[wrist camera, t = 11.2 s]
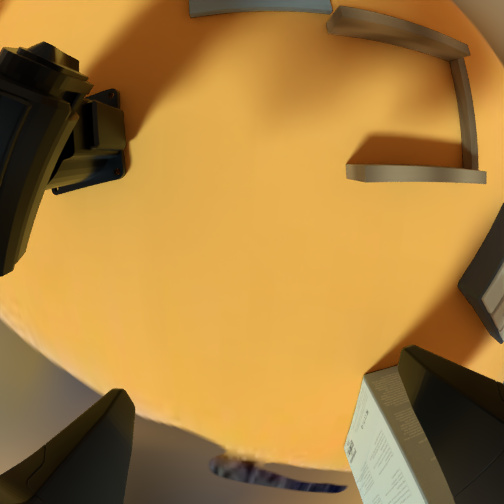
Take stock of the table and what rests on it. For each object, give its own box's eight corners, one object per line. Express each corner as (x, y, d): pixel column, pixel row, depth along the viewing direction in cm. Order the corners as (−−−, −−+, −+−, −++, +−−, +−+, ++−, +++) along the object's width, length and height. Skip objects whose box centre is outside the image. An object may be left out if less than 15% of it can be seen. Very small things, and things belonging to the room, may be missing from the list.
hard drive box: (391, 432, 29) (438, 536, 10) (342, 447, 28) (379, 563, 10) (422, 354, 24) (516, 488, 5) (361, 372, 24) (441, 544, 5)
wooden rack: (346, 178, 18) (365, 182, 15) (326, 23, 14) (339, 5, 11) (469, 179, 18) (492, 184, 15) (454, 55, 14) (474, 48, 11)
